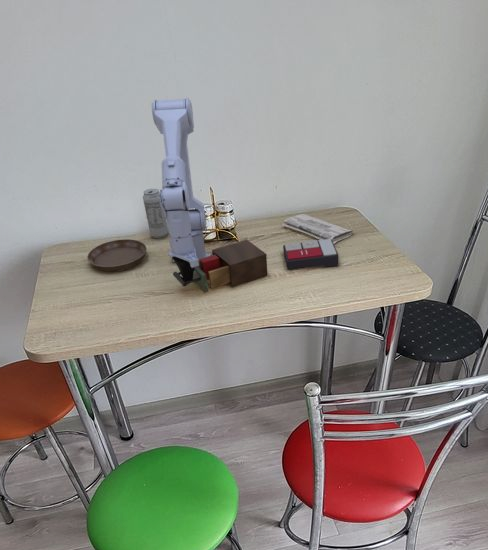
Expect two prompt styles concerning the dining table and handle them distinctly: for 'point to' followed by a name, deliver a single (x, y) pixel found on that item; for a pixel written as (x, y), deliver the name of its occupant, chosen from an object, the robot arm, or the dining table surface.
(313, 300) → the dining table surface
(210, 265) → the card box
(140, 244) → the plant saucer
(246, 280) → the cabinet
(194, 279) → the drawer
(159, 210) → the energy drink can
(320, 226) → the newspaper
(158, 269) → the dining table surface
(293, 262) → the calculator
